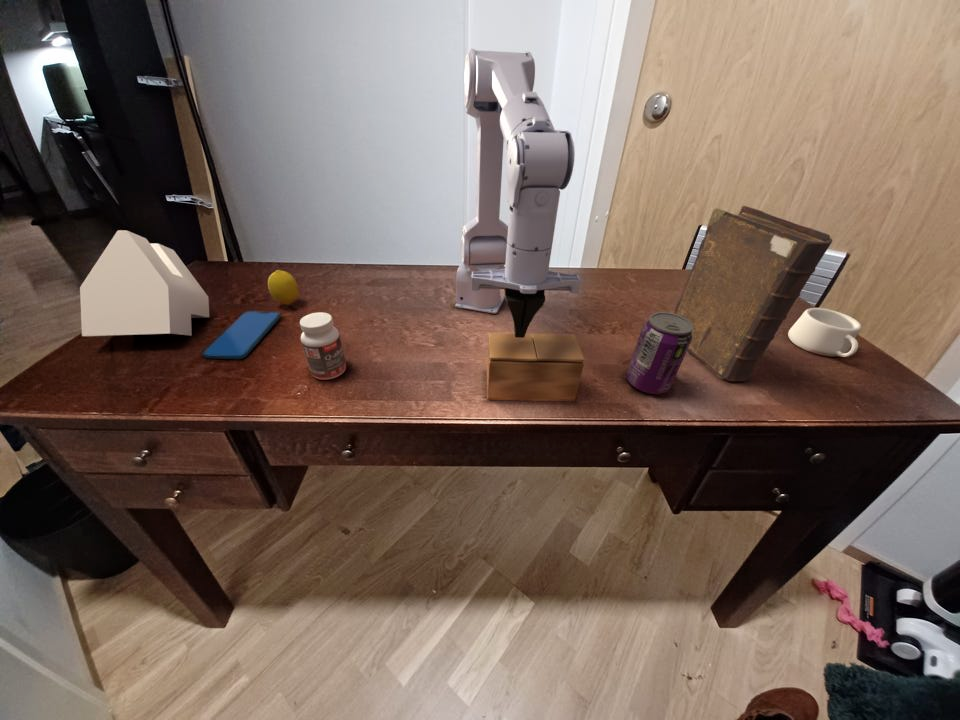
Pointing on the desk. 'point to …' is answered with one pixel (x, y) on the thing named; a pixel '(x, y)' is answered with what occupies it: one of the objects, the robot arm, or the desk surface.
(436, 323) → the desk surface
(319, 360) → the pill bottle
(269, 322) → the smartphone
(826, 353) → the mug
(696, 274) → the book
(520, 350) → the flap
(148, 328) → the white house-shaped piece
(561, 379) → the carton
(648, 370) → the beverage can
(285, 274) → the lemon
